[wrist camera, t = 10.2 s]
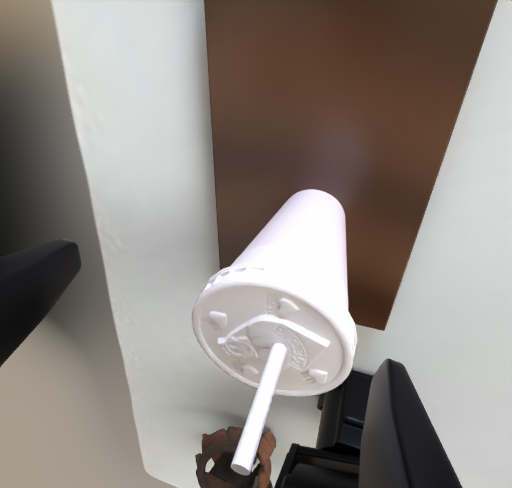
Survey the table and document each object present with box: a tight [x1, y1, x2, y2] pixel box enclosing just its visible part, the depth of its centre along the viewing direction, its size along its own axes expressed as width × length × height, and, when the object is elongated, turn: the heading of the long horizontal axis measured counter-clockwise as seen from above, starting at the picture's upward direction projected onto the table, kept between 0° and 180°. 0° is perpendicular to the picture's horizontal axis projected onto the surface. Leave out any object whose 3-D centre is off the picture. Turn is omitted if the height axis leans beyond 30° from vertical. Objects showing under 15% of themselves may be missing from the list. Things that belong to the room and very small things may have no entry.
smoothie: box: [192, 189, 358, 475], centre depth 15 cm, size 6×6×14 cm
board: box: [204, 0, 498, 331], centre depth 20 cm, size 20×12×2 cm, turn 179°
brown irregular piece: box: [195, 427, 276, 488], centre depth 40 cm, size 12×10×8 cm
